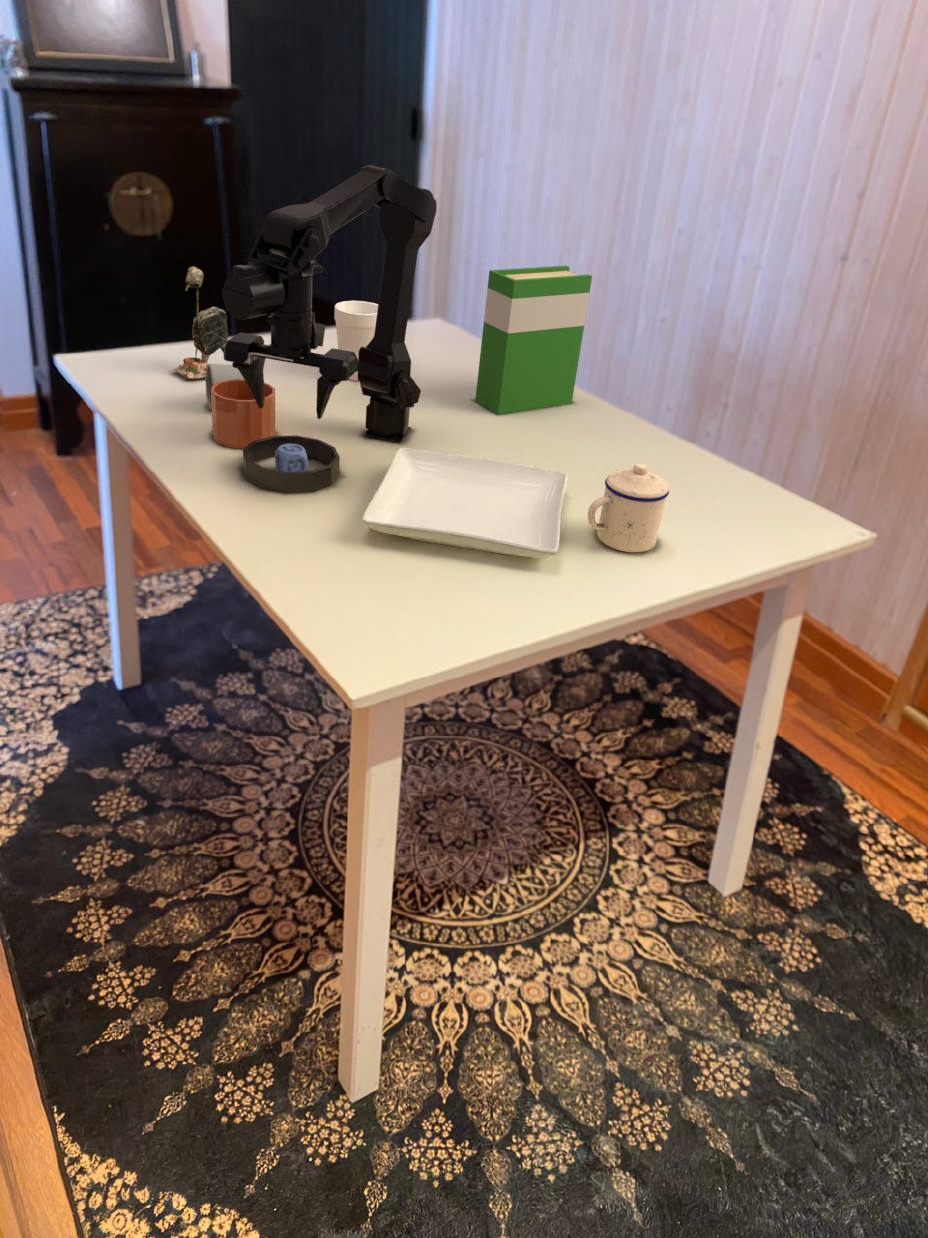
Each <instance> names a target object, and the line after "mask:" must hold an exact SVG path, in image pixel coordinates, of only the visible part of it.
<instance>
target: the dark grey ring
mask: <svg viewBox="0 0 928 1238" xmlns="http://www.w3.org/2000/svg"><path fill="white" fill-rule="evenodd" d="M284 444H297V445H300V446H302V447H303V448H304V449H305V451H306V454H307V459H313V460H317V461H319V462H321V463H323V464H325V466H321V467H319V468H315V469H312V470H307V471H296V472H284V471H279V470H277V469H274V468H268V467H264V466H263V465H260V464H258V463H257V461H258V462H259V461H261V460H265V459H268V458H272V457H275V452H276V450H277V448H278V447H280V446H281V445H284ZM340 460H341V457H340V455H339V453H338V451H337V448H336V447H335V446H333V445H331V444H329V443H327V442H326V441H323V440H321V439H317V438H312V437H308V436H301V435H296V434H295V435H293V434H292V435H275V436H270V437H266V438H263V439H259V440H255V441H252V442H251V443H250V444H249V445H248V446H247V447H245V448H244V449H242V471H243V475H244V478H245V480H246V481H247V482H249V483H251V484H252V485H254V486H256V487H258V488H260V489H263V490H267V491H274V492H279V493H283V494H296V493H297V494H299V493H313V492H316V491H319V490H322V489H325V488H328V487H331V486H332V485H334V483H335V482H336V480H338V479H339V477H340V463H341V462H340Z"/></svg>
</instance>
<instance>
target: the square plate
mask: <svg viewBox="0 0 928 1238" xmlns="http://www.w3.org/2000/svg"><path fill="white" fill-rule="evenodd" d="M568 479H569V475H568V473H567V472H565V471H563V470H562V471H561V470H557V469H556V470H555V469H550V468H543V467H538V466H533V465H526V464H521V463H516V462H512V461H511V462H510V461H506V460H505V461H504V460H498V459H490V458H486V457H485V458H484V457H478V456H473V455H472V456H471V455H465V454H458V453H451V452H449V453H448V452H442V451H434V450H425V449H419V448H411V447H399V448H398V449H397V450H396V452H395V453H394V455H393V458H392V459H391V462H390V464H389V467H388V469H387V471H386V473H385V475H384V477H383V479H382V480H381V483H380V484H379V486H378V488H377V489H376V492H375V493H374V494H373V497H372V498H371V500H370V502H369V504H368V505H367V507H366V509H365V511H364V513H363V515H362V517H361V522H363V523H364V524H365V525H366V526H367V527H368V528H370V529H372V530H373V531H376V532H379V533H383V534H387V535H393V536H399V537H404V538H406V539H409V540H414V541H418V542H424V543H432V544H438V545H444V546H451V547H457V548H464V549H469V550H476V551H482V552H487V553H494V554H499V555H505V556H519V557H526V558H533V559H546V558H549V557H552V556H553V555H557V553H558V552H559V548H560V541H561V538H560V536H561V525H562V524H561V523H562V513H563V512H562V511H563V504H564V499H565V494H566V490H567V485H568V481H569V480H568Z"/></svg>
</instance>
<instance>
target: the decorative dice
mask: <svg viewBox="0 0 928 1238" xmlns="http://www.w3.org/2000/svg"><path fill="white" fill-rule="evenodd" d="M274 463H275V469H276V470H279V471H284V472H296V471H308V466H309V464H308V463H309V462H308V458H307V454H306V451H305V449H304V448H303V447H302V446H300V445H297V444H284V445H281V446H280V447H278V448H277V450H276V452H275V456H274Z"/></svg>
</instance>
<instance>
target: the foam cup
mask: <svg viewBox="0 0 928 1238" xmlns="http://www.w3.org/2000/svg"><path fill="white" fill-rule="evenodd" d="M377 311H378V303H375V302H370V301H364V300H345V301H340V302H336V304H335V305H334V313H333V315H334V317H333V319H334V321H335V328H336V340H337V349H339V350H345V351H351V352H354V353H355V355H356V356H357V358H359V350H360V348H361V347H366V346H367V345H368V344H369V342H370V341H371V340H372V339H373V337H374V333H375V325H376V318H377ZM348 380H351V381H358V372H357V371H356V372H355V373H354V374H353V375H352V376H351V377H350V378H349V379H348Z"/></svg>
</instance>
